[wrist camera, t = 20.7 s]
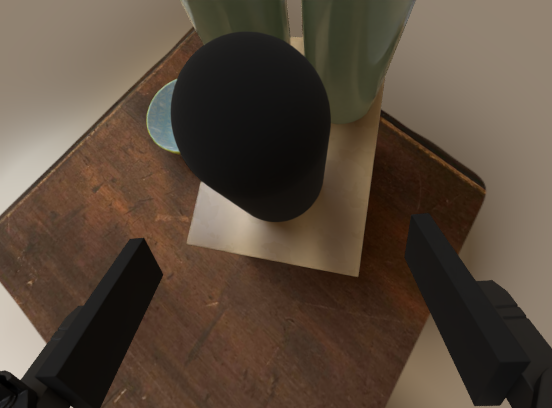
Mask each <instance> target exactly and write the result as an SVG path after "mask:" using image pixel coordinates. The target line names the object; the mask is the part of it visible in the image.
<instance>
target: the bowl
mask: <svg viewBox="0 0 552 408" xmlns="http://www.w3.org/2000/svg"><path fill="white" fill-rule="evenodd" d="M176 81H177V79H176V80H174V81H172V82H170V83H168V84H167V85H165V86H164V87H163V88H161V89H160V90H159V91H158V92H157V94H156V95H155V96H154V98H153V100H152V101H151V103H150V106H149V108H148V112H147V128H148V132H149V134H150V136H151V138H152V139H153V141H154V142H155V143H156V144H157V145H158V146H160V147H161V148H163V149H165V150H167V151H169V152H172V153H176V154H180V152H179V150H178V147H177V145H176V142H175V139H174V135H173V131H172V125H171V100H172V94H173V90H174V86H175V84H176Z"/></svg>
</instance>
